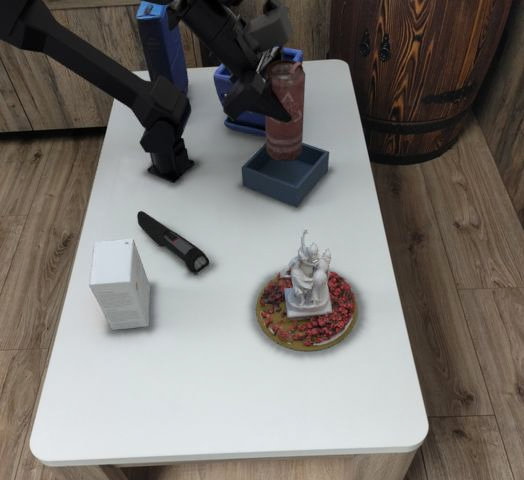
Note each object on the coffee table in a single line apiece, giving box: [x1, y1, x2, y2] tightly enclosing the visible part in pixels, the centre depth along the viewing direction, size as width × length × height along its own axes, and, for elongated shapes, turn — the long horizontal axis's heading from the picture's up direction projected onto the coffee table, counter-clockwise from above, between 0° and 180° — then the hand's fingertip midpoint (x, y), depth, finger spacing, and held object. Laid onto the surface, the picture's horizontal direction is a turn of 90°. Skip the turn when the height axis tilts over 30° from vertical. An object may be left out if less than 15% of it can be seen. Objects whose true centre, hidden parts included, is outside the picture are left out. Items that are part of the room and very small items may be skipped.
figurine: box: [255, 228, 359, 352], centre depth 68 cm, size 15×15×14 cm
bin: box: [240, 142, 330, 208], centre depth 88 cm, size 11×11×4 cm
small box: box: [88, 238, 151, 331], centre depth 71 cm, size 8×6×10 cm
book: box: [135, 0, 189, 96], centre depth 95 cm, size 14×5×20 cm, turn 178°
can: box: [264, 60, 306, 162], centre depth 79 cm, size 6×6×14 cm
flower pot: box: [213, 46, 304, 138], centre depth 94 cm, size 13×13×12 cm
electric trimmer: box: [136, 210, 211, 275], centre depth 81 cm, size 4×16×3 cm, turn 45°
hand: (293, 110), depth 79 cm, fingers closed on can, 5 cm apart
